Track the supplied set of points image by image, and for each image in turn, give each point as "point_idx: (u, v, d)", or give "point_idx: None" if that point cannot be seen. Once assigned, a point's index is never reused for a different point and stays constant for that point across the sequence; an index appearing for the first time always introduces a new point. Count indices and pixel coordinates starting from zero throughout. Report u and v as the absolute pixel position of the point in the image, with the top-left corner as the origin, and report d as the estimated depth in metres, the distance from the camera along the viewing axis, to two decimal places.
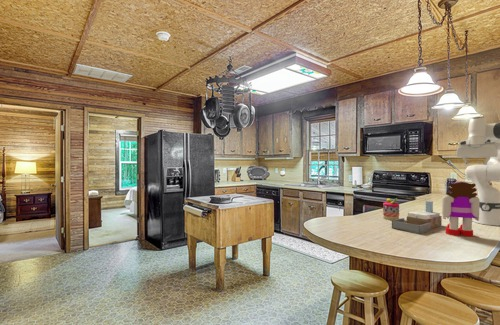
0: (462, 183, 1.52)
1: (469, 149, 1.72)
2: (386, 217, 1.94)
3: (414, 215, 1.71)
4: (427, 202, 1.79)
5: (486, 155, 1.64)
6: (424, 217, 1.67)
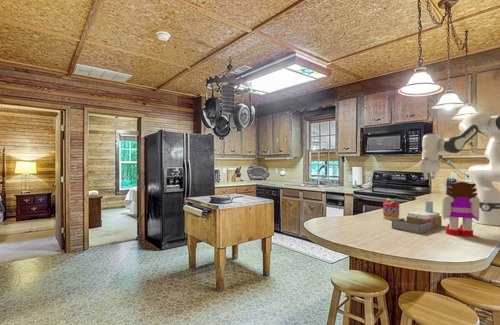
0: (462, 183, 1.52)
1: None
2: (386, 217, 1.94)
3: (414, 215, 1.71)
4: (427, 202, 1.79)
5: None
6: (424, 217, 1.67)
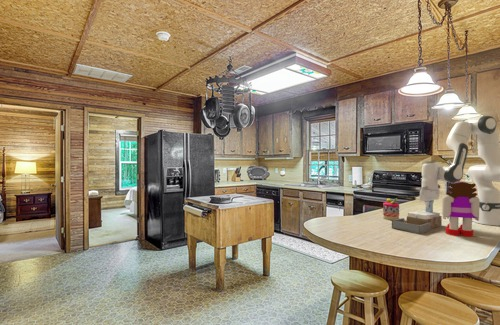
0: (462, 183, 1.52)
1: None
2: (386, 217, 1.94)
3: (414, 215, 1.71)
4: None
5: None
6: (424, 217, 1.67)
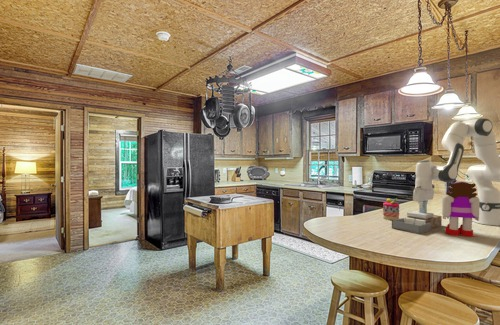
0: (462, 183, 1.52)
1: None
2: (386, 217, 1.94)
3: None
4: None
5: None
6: None
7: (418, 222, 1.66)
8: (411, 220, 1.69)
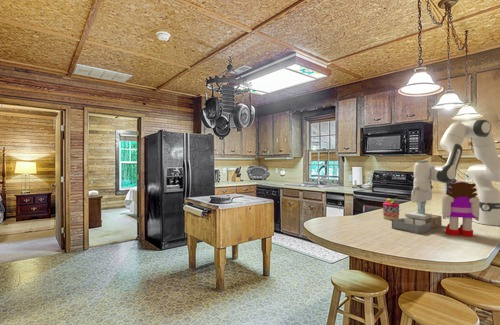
0: (462, 183, 1.52)
1: None
2: (386, 217, 1.94)
3: None
4: None
5: None
6: None
7: (418, 222, 1.66)
8: (411, 220, 1.69)
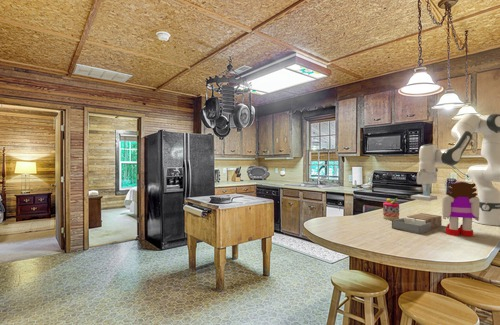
0: (462, 183, 1.52)
1: None
2: (386, 217, 1.94)
3: None
4: None
5: None
6: None
7: (418, 222, 1.66)
8: (411, 220, 1.69)
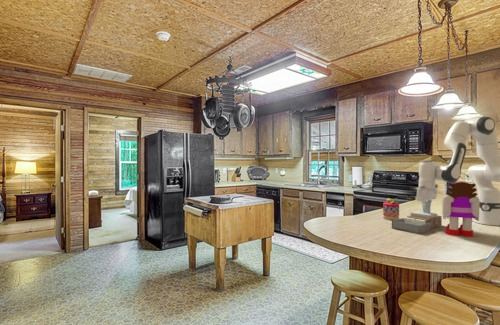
0: (462, 183, 1.52)
1: None
2: (386, 217, 1.94)
3: None
4: None
5: None
6: None
7: (418, 222, 1.66)
8: (411, 220, 1.69)
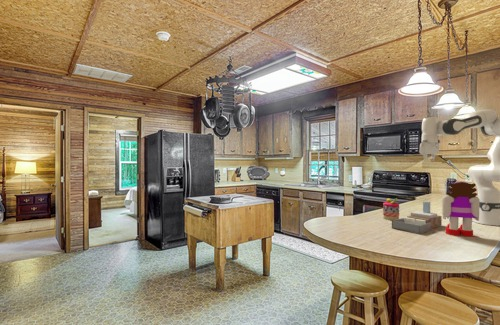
0: (462, 183, 1.52)
1: None
2: (386, 217, 1.94)
3: None
4: (424, 202, 1.77)
5: None
6: None
7: (418, 222, 1.66)
8: (411, 220, 1.69)
